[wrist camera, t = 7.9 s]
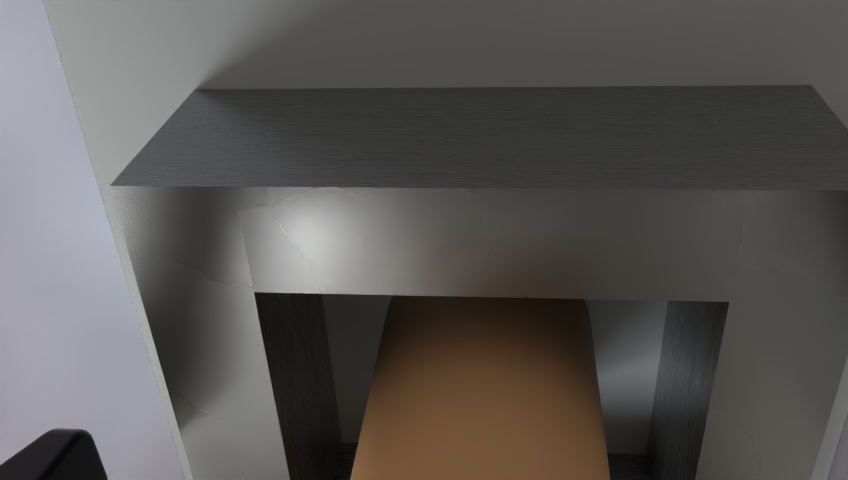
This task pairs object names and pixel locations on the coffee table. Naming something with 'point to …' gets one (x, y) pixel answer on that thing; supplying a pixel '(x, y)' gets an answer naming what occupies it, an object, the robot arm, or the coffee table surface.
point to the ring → (496, 253)
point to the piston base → (437, 55)
